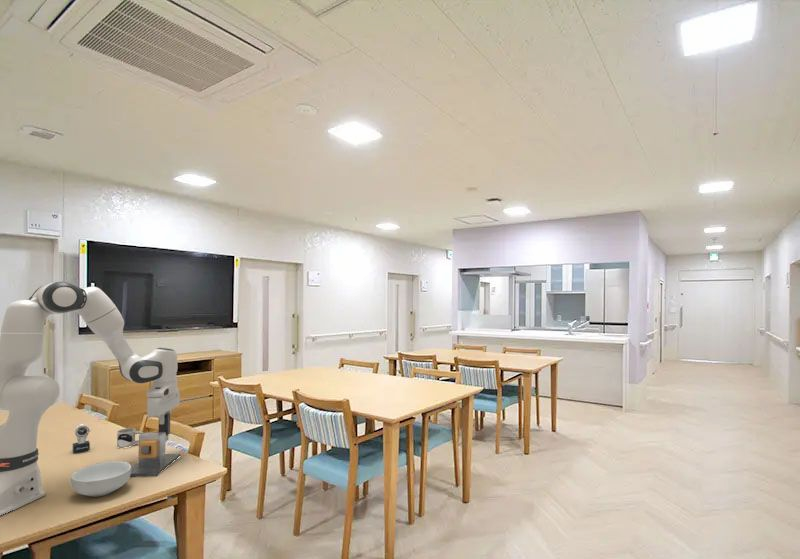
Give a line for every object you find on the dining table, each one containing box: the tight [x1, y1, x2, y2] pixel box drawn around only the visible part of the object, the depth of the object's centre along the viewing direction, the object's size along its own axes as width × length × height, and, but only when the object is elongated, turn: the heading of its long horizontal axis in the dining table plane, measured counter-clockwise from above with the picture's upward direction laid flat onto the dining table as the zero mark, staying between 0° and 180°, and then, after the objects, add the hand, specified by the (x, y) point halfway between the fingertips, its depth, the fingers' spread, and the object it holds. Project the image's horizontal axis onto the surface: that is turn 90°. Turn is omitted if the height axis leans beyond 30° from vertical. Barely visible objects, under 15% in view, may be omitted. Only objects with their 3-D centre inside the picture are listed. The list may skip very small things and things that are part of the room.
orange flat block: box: [138, 441, 157, 458], centre depth 170 cm, size 2×6×6 cm, turn 92°
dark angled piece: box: [141, 414, 171, 454], centre depth 176 cm, size 16×4×10 cm, turn 2°
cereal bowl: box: [70, 460, 132, 498], centre depth 152 cm, size 17×17×7 cm
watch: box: [72, 423, 91, 454], centre depth 191 cm, size 6×8×11 cm
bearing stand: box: [129, 431, 182, 478], centre depth 174 cm, size 20×12×12 cm, turn 2°
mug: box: [116, 427, 144, 449], centre depth 198 cm, size 10×7×7 cm, turn 108°
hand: (164, 422), depth 183 cm, fingers closed
